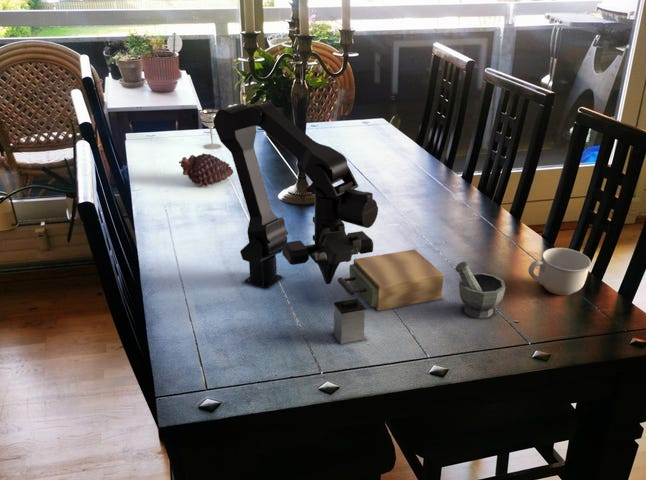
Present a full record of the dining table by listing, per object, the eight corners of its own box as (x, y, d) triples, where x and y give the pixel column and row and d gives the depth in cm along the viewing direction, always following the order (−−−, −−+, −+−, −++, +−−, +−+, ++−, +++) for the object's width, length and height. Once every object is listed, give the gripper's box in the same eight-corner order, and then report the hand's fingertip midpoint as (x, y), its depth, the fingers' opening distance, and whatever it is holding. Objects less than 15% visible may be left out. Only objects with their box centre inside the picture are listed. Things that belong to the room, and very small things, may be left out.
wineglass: (226, 145, 257) (223, 110, 250) (213, 150, 252) (210, 115, 245) (211, 142, 260) (208, 108, 253) (198, 147, 255) (195, 112, 248)
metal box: (340, 344, 147) (341, 308, 142) (333, 334, 150) (333, 299, 145) (364, 339, 148) (365, 304, 144) (356, 329, 152) (357, 294, 147)
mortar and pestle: (491, 298, 164) (498, 249, 157) (508, 319, 156) (516, 268, 150) (443, 303, 162) (449, 253, 155) (458, 324, 154) (465, 273, 147)
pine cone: (223, 172, 233) (235, 149, 225) (231, 196, 229) (243, 173, 221) (170, 166, 223) (181, 142, 215) (178, 191, 218) (189, 167, 211)
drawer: (354, 310, 157) (355, 292, 154) (332, 284, 167) (332, 267, 164) (431, 295, 163) (432, 278, 160) (405, 271, 173) (406, 255, 170)
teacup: (575, 278, 173) (582, 247, 168) (590, 300, 164) (598, 268, 159) (517, 278, 172) (522, 247, 168) (529, 300, 163) (535, 268, 159)
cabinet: (378, 310, 158) (379, 285, 155) (352, 283, 169) (353, 259, 166) (441, 298, 163) (443, 274, 160) (412, 272, 174) (414, 249, 171)
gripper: (298, 237, 141) (299, 307, 149) (386, 224, 147) (382, 292, 155) (280, 216, 149) (282, 284, 158) (363, 204, 155) (361, 271, 164)
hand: (327, 283), depth 158 cm, fingers closed
